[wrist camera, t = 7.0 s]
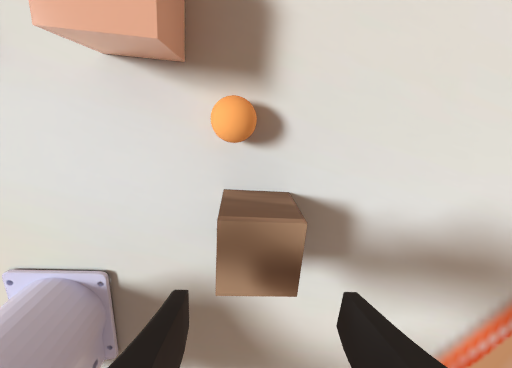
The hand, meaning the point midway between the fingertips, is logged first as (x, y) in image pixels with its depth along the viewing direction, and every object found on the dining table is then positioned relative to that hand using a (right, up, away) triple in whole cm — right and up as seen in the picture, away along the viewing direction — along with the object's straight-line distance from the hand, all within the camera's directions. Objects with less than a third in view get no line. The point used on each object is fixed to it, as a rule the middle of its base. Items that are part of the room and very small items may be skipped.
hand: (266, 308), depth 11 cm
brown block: (-1, +3, +9) cm, 9 cm away
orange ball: (-2, +10, +6) cm, 12 cm away
